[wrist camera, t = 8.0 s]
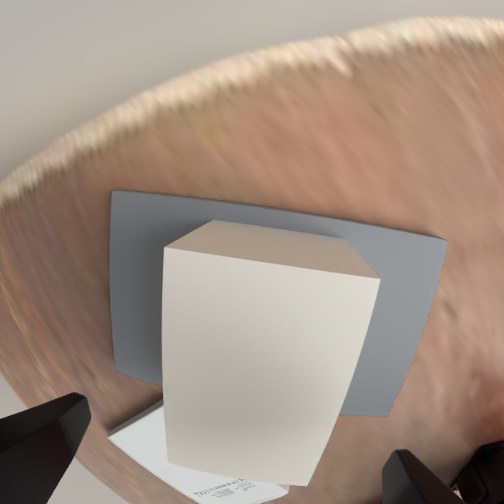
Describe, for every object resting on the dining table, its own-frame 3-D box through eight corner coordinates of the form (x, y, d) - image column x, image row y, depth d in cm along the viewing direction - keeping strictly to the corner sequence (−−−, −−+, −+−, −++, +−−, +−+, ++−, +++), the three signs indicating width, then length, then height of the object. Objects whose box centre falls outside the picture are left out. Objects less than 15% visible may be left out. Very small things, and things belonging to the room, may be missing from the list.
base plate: (440, 237, 14) (473, 252, 11) (383, 406, 17) (396, 444, 13) (121, 189, 15) (83, 193, 12) (122, 364, 18) (96, 394, 15)
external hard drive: (173, 389, 19) (290, 480, 20) (113, 426, 21) (219, 503, 22) (165, 403, 17) (289, 495, 18) (105, 438, 19) (216, 516, 20)
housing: (213, 219, 14) (164, 247, 8) (343, 238, 14) (380, 279, 8) (200, 386, 17) (168, 463, 11) (305, 403, 16) (307, 486, 10)
